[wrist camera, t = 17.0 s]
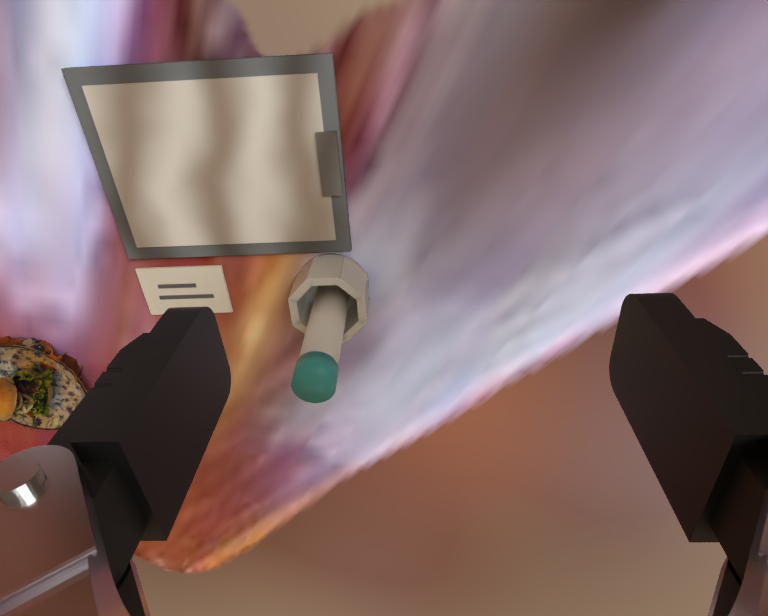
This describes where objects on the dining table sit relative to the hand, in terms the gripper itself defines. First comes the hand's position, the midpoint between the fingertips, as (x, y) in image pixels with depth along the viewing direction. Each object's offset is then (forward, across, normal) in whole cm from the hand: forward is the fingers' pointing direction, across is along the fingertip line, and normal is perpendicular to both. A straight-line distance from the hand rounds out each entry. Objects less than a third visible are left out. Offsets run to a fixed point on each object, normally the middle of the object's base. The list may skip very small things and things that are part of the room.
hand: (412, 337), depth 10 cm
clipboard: (+32, +16, +6) cm, 36 cm away
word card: (+32, +22, +17) cm, 43 cm away
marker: (+32, +8, +17) cm, 37 cm away
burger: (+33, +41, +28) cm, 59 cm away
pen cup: (+32, +8, +17) cm, 38 cm away
